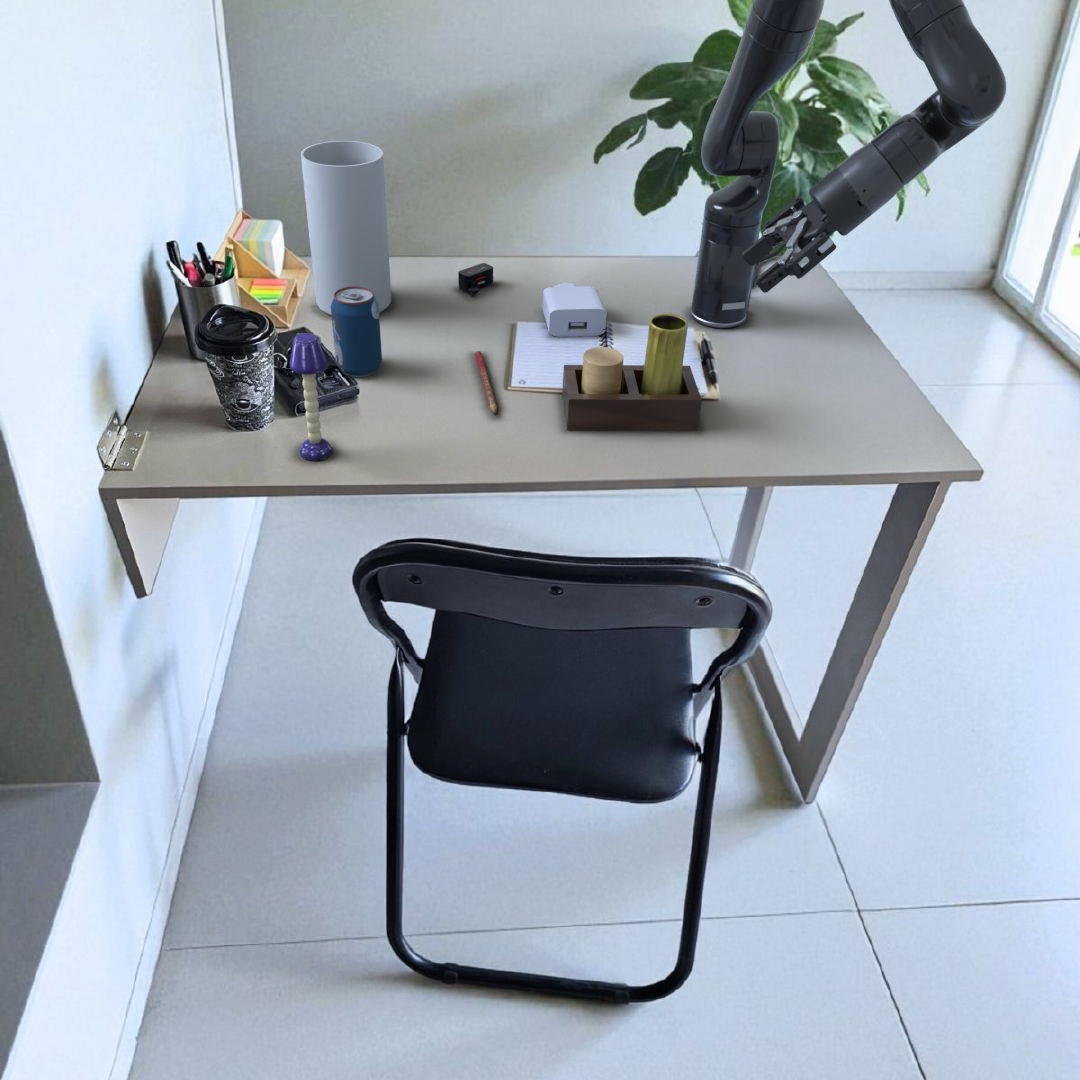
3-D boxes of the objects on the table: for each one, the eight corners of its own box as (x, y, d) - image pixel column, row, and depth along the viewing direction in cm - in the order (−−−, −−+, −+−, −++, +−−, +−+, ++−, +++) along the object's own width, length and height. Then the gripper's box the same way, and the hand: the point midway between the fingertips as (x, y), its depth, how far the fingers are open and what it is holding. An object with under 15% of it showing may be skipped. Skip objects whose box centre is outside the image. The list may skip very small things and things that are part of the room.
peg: (596, 398, 154) (600, 343, 148) (626, 412, 151) (631, 356, 145) (571, 412, 150) (575, 355, 145) (601, 426, 147) (606, 369, 142)
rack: (562, 394, 154) (563, 364, 151) (685, 395, 155) (690, 365, 152) (566, 430, 146) (568, 399, 143) (697, 430, 147) (701, 399, 144)
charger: (590, 296, 182) (604, 335, 170) (537, 297, 181) (548, 337, 169) (592, 270, 179) (607, 308, 167) (538, 271, 178) (550, 309, 166)
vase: (683, 406, 153) (695, 316, 144) (673, 426, 148) (685, 335, 139) (642, 398, 154) (652, 309, 145) (632, 418, 149) (641, 327, 141)
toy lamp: (302, 442, 141) (288, 329, 131) (336, 441, 142) (326, 329, 132) (298, 461, 138) (284, 347, 127) (334, 461, 138) (322, 346, 128)
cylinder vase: (335, 284, 182) (322, 137, 167) (402, 294, 180) (395, 146, 164) (303, 313, 172) (286, 160, 157) (374, 325, 170) (363, 170, 155)
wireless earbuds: (453, 290, 182) (453, 272, 180) (484, 279, 186) (484, 262, 184) (471, 299, 179) (471, 281, 177) (501, 288, 183) (502, 270, 181)
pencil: (474, 356, 163) (474, 350, 162) (481, 355, 163) (481, 350, 163) (491, 418, 148) (491, 412, 148) (499, 418, 148) (499, 412, 148)
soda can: (391, 364, 160) (387, 290, 152) (366, 383, 155) (361, 308, 147) (352, 353, 162) (346, 280, 155) (327, 372, 157) (320, 298, 150)
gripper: (825, 149, 136) (725, 233, 142) (856, 187, 124) (746, 276, 131) (856, 190, 139) (757, 271, 145) (889, 231, 128) (781, 316, 134)
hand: (752, 273), depth 138 cm, fingers open, 8 cm apart
